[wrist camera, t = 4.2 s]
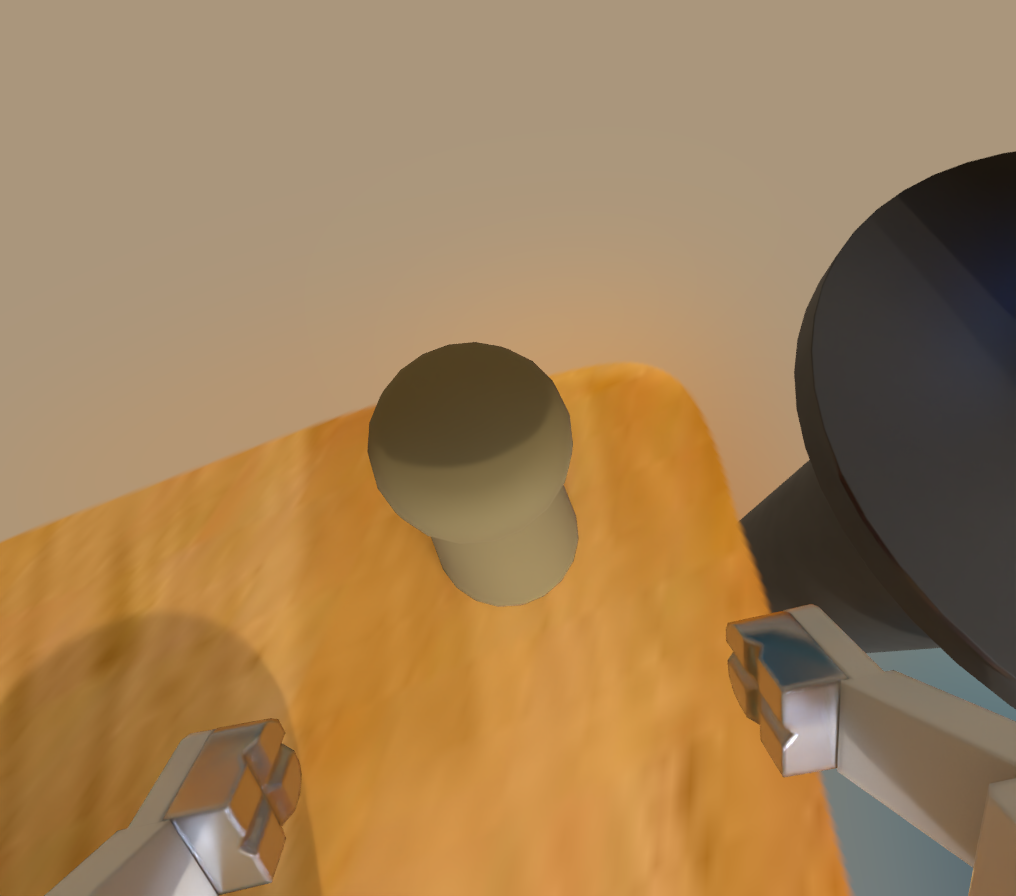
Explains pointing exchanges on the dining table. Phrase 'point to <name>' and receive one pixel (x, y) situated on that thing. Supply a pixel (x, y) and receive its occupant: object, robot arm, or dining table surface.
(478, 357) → the brown peanut shape
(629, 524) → the dining table surface
